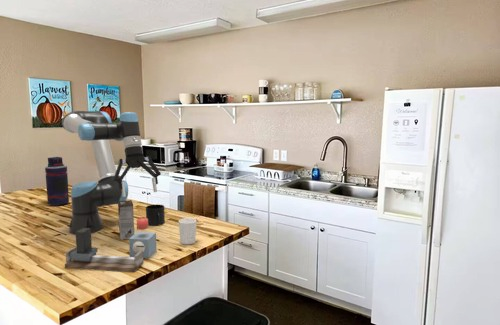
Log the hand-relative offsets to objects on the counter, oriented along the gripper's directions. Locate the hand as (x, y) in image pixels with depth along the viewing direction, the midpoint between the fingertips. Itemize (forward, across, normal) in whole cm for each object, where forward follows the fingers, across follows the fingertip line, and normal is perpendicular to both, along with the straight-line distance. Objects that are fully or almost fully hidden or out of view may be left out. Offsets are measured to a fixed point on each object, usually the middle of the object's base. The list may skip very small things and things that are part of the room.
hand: (140, 194), depth 150 cm
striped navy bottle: (-5, -27, +98) cm, 101 cm away
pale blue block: (+25, -4, -7) cm, 26 cm away
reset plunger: (+14, -4, -10) cm, 18 cm away
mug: (+16, +13, +28) cm, 35 cm away
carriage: (+21, -26, -5) cm, 34 cm away
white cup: (+25, +17, -3) cm, 30 cm away
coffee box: (+18, -4, +18) cm, 26 cm away
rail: (+25, -19, -10) cm, 33 cm away
